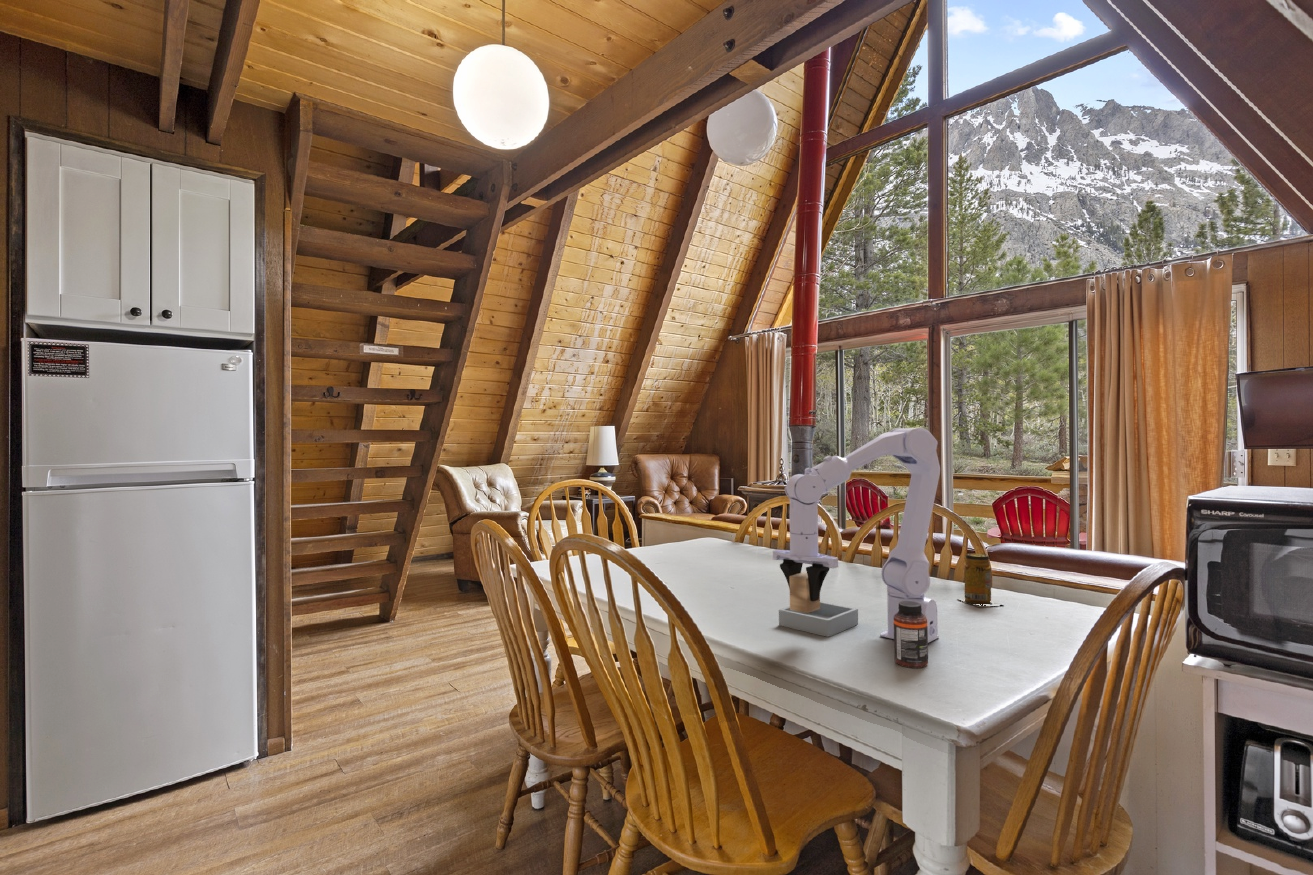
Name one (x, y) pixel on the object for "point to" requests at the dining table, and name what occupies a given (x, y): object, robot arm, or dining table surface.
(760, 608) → the dining table surface
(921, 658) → the supplement bottle
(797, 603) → the carton
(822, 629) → the tray
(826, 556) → the robot arm
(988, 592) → the condiment
